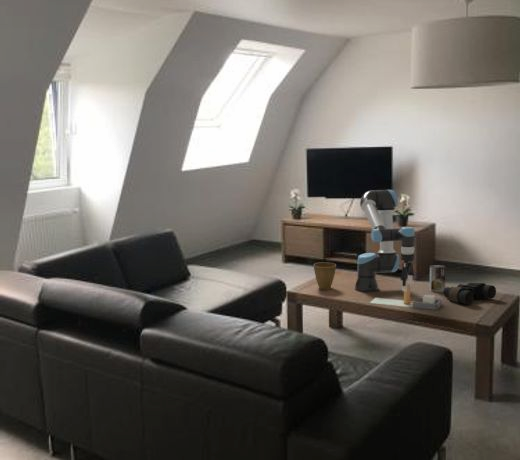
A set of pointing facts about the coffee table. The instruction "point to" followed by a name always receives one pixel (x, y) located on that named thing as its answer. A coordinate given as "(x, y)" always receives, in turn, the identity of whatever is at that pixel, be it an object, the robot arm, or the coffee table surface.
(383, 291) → the coffee table surface
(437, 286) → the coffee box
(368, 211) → the robot arm
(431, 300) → the pull block
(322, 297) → the coffee table surface
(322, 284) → the plant pot
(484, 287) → the binoculars
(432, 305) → the lane rack
